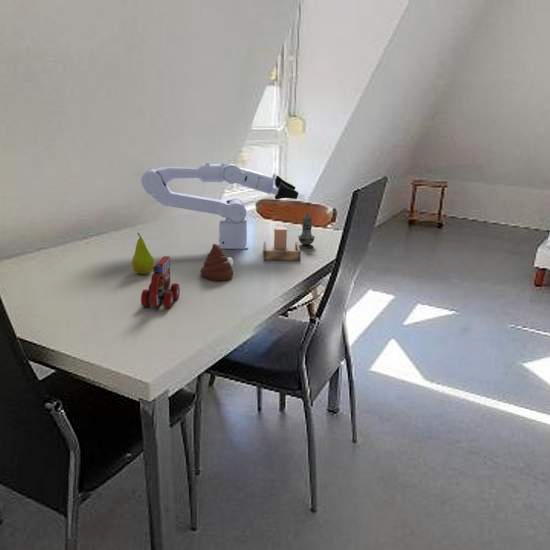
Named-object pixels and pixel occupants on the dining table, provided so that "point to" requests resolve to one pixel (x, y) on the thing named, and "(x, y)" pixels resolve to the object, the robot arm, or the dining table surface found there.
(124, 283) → the dining table surface
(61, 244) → the dining table surface
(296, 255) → the walnut tray
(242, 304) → the dining table surface
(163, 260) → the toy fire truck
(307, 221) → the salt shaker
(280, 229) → the tall block
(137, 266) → the fruit
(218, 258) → the poop emoji
